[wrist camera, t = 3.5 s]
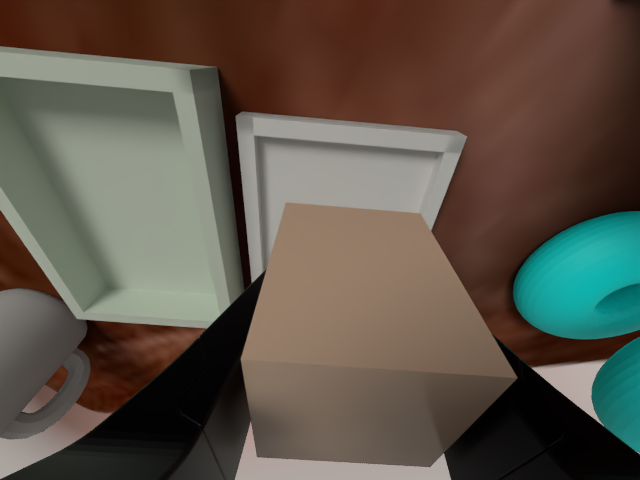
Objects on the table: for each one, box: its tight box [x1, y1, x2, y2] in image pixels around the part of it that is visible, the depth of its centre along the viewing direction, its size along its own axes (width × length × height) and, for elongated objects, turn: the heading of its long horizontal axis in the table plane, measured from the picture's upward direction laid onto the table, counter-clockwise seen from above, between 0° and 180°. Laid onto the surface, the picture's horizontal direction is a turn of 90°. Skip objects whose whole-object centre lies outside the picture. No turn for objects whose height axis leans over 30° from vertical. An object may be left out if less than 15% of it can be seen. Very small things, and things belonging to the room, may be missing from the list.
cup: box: [0, 288, 91, 439], centre depth 20 cm, size 7×10×9 cm
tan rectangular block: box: [241, 202, 517, 467], centre depth 8 cm, size 4×4×6 cm
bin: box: [0, 47, 244, 328], centre depth 15 cm, size 11×16×3 cm
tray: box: [236, 112, 467, 283], centre depth 17 cm, size 11×16×1 cm
